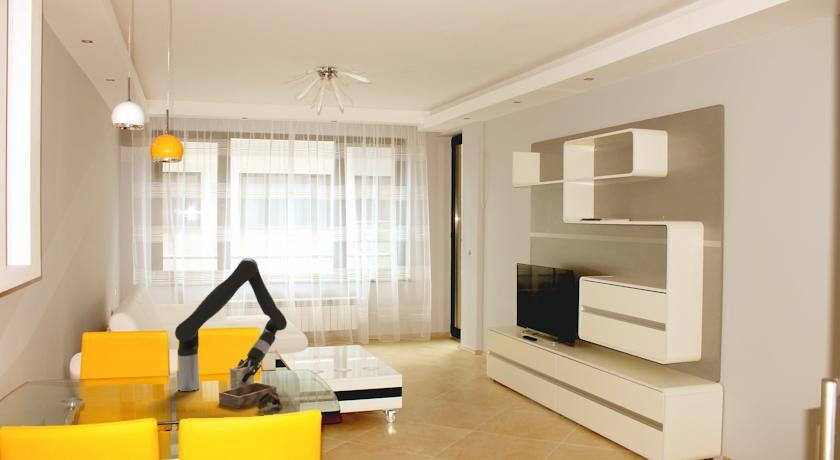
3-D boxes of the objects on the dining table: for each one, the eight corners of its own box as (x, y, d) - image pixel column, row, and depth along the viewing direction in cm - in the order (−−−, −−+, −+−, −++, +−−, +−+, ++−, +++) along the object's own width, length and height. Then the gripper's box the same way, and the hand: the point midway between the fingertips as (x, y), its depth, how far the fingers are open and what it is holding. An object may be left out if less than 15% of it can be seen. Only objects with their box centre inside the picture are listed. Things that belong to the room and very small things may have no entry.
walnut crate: (239, 408, 278) (239, 397, 278) (219, 403, 287) (218, 392, 287) (276, 397, 293) (276, 386, 293) (256, 393, 303) (256, 382, 303)
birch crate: (238, 393, 300) (237, 369, 300) (230, 391, 304) (229, 368, 304) (254, 388, 307) (253, 365, 307) (246, 387, 311) (245, 364, 311)
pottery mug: (281, 413, 271) (270, 398, 269) (262, 423, 272) (251, 407, 271) (288, 398, 282) (277, 383, 281) (270, 407, 284) (259, 393, 282)
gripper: (245, 345, 315) (224, 374, 306) (263, 348, 306) (243, 378, 297) (254, 353, 320) (234, 383, 311) (272, 357, 311) (253, 387, 302)
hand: (239, 380), depth 304 cm, fingers closed on birch crate, 6 cm apart
